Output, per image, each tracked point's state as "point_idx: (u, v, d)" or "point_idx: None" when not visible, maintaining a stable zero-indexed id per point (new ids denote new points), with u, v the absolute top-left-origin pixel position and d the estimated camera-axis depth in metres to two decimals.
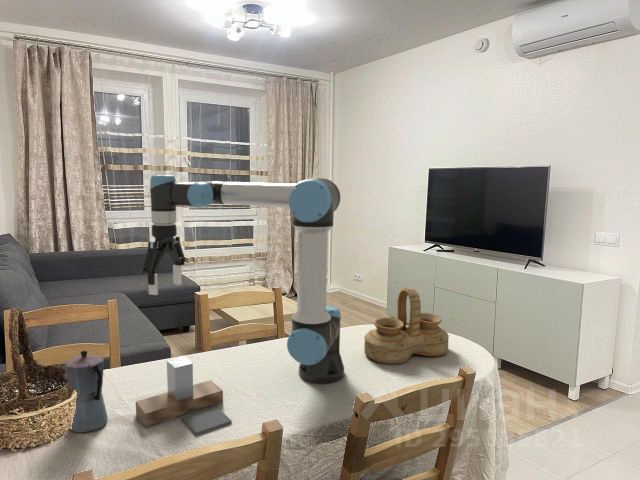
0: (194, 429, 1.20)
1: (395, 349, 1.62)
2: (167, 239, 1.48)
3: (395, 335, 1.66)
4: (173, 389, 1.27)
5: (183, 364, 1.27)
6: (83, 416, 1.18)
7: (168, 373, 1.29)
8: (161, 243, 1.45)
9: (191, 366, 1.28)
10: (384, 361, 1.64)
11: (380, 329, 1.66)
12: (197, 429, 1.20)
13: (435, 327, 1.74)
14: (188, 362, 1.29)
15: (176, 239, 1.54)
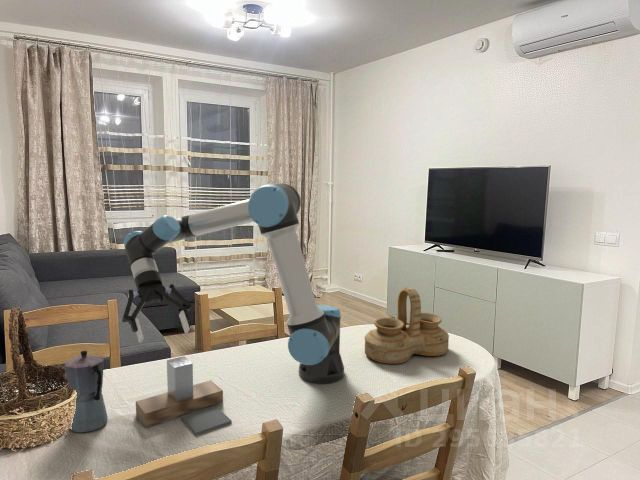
0: (194, 429, 1.20)
1: (395, 350, 1.62)
2: (151, 287, 1.43)
3: (395, 335, 1.66)
4: (173, 389, 1.27)
5: (183, 364, 1.27)
6: (83, 416, 1.18)
7: (168, 373, 1.29)
8: (140, 290, 1.40)
9: (191, 366, 1.28)
10: (384, 361, 1.64)
11: (380, 329, 1.66)
12: (197, 429, 1.20)
13: (435, 327, 1.74)
14: (188, 362, 1.29)
15: (169, 287, 1.46)
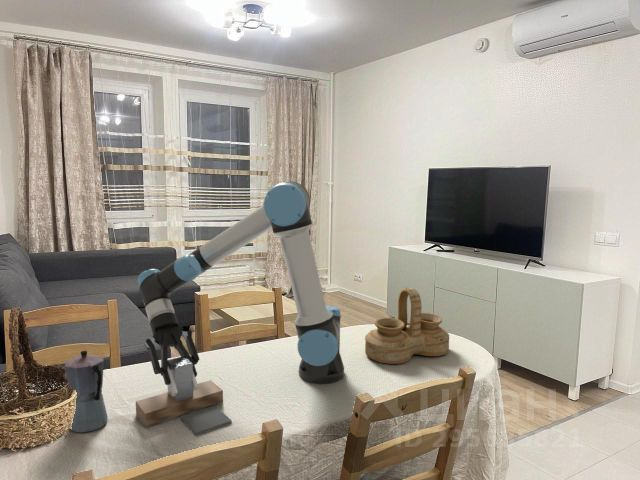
0: (194, 429, 1.20)
1: (396, 350, 1.62)
2: (167, 330, 1.35)
3: (396, 335, 1.66)
4: None
5: (183, 364, 1.28)
6: (83, 416, 1.18)
7: None
8: (157, 335, 1.32)
9: (191, 366, 1.28)
10: (385, 361, 1.63)
11: (381, 329, 1.66)
12: (197, 429, 1.20)
13: (436, 327, 1.73)
14: (188, 362, 1.29)
15: (187, 333, 1.37)
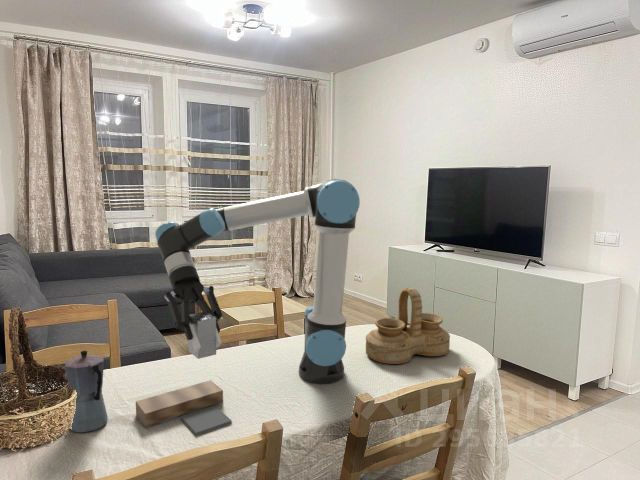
0: (194, 429, 1.20)
1: (396, 350, 1.62)
2: (188, 284, 1.26)
3: (397, 335, 1.66)
4: None
5: (206, 318, 1.19)
6: (83, 416, 1.18)
7: None
8: (177, 289, 1.24)
9: (214, 320, 1.20)
10: (386, 361, 1.63)
11: (381, 329, 1.66)
12: (197, 429, 1.20)
13: (436, 327, 1.73)
14: (211, 316, 1.20)
15: (208, 288, 1.29)
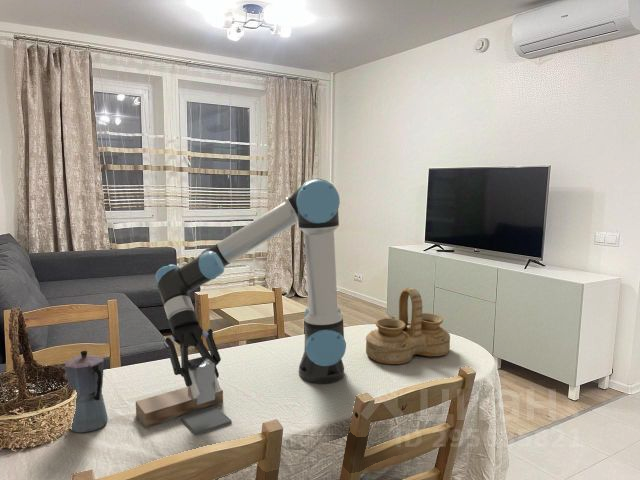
0: (194, 429, 1.20)
1: (397, 350, 1.62)
2: (187, 329, 1.28)
3: (397, 336, 1.66)
4: None
5: (205, 364, 1.21)
6: (83, 416, 1.18)
7: None
8: (176, 334, 1.26)
9: (213, 367, 1.22)
10: (386, 362, 1.63)
11: (382, 330, 1.66)
12: (197, 429, 1.20)
13: (437, 327, 1.73)
14: (210, 362, 1.22)
15: (207, 332, 1.31)
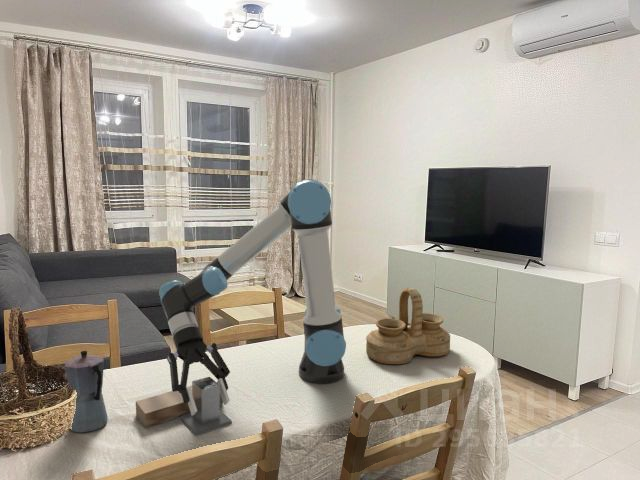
0: (194, 429, 1.20)
1: (397, 350, 1.62)
2: (191, 345, 1.29)
3: (397, 336, 1.66)
4: (199, 412, 1.22)
5: (210, 385, 1.22)
6: (83, 416, 1.18)
7: (193, 395, 1.24)
8: (181, 351, 1.27)
9: (218, 388, 1.23)
10: (386, 362, 1.63)
11: (382, 330, 1.66)
12: (197, 429, 1.20)
13: (437, 327, 1.73)
14: (214, 383, 1.23)
15: (211, 346, 1.32)
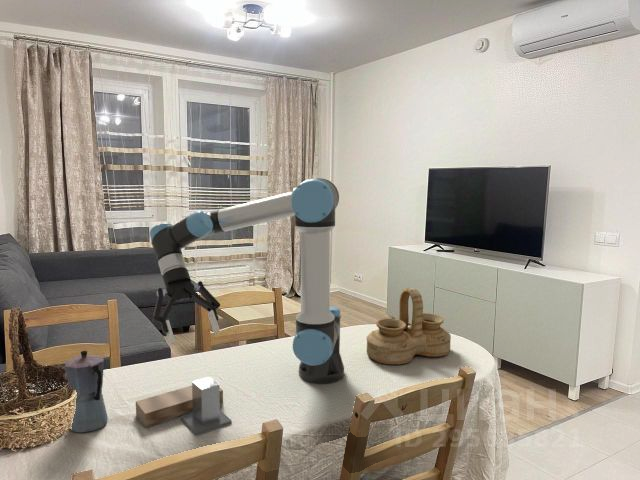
0: (194, 429, 1.20)
1: (398, 350, 1.62)
2: (180, 284, 1.38)
3: (398, 336, 1.65)
4: (199, 412, 1.22)
5: (210, 385, 1.22)
6: (83, 416, 1.18)
7: (193, 395, 1.24)
8: (170, 289, 1.36)
9: (218, 388, 1.23)
10: (387, 362, 1.63)
11: (383, 330, 1.66)
12: (197, 429, 1.20)
13: (437, 327, 1.73)
14: (214, 383, 1.23)
15: (198, 284, 1.41)
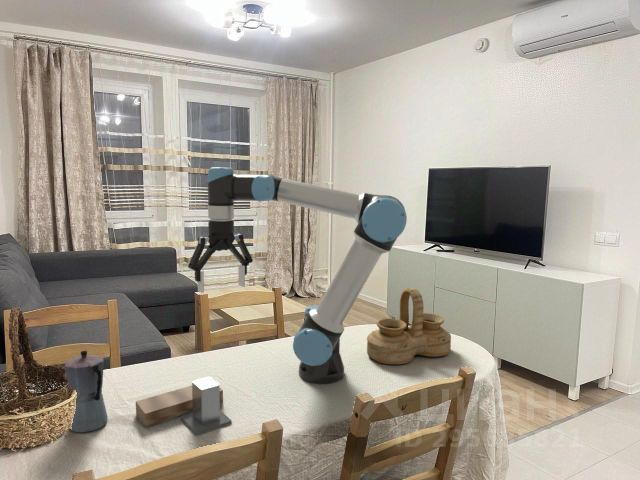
0: (194, 429, 1.20)
1: (398, 350, 1.62)
2: (222, 236, 1.39)
3: (398, 336, 1.65)
4: (199, 412, 1.22)
5: (210, 385, 1.22)
6: (83, 416, 1.18)
7: (193, 395, 1.24)
8: (212, 239, 1.37)
9: (218, 388, 1.23)
10: (387, 362, 1.63)
11: (383, 330, 1.65)
12: (197, 429, 1.20)
13: (438, 327, 1.73)
14: (214, 383, 1.23)
15: (239, 237, 1.43)
